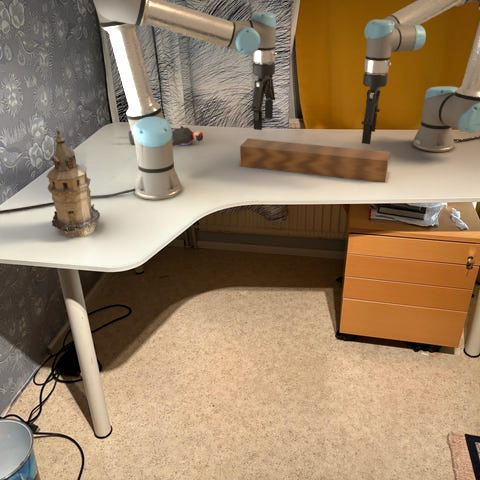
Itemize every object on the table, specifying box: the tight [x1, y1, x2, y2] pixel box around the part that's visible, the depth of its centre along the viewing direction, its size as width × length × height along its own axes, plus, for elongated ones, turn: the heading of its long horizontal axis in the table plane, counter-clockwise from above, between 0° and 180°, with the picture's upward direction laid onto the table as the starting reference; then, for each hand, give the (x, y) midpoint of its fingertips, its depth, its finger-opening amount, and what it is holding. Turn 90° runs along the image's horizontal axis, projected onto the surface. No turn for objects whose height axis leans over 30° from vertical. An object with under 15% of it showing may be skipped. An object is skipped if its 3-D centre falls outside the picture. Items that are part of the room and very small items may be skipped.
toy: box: [128, 125, 204, 147], centre depth 219 cm, size 26×6×30 cm
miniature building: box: [46, 129, 101, 237], centre depth 148 cm, size 13×14×30 cm
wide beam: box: [239, 138, 391, 183], centre depth 191 cm, size 52×9×8 cm, turn 71°
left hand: (263, 123), depth 191 cm, fingers open, 13 cm apart
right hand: (368, 137), depth 181 cm, fingers open, 13 cm apart
